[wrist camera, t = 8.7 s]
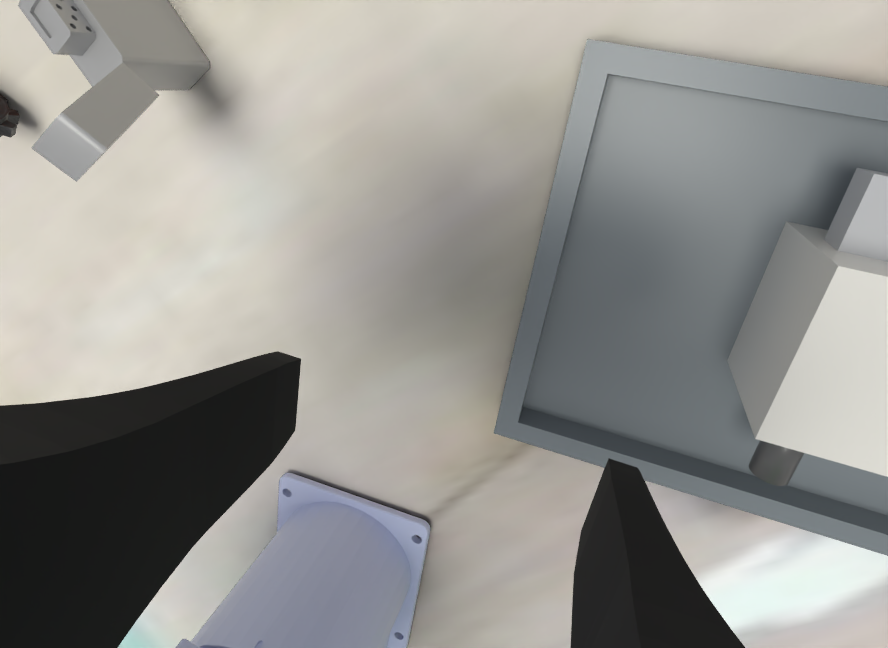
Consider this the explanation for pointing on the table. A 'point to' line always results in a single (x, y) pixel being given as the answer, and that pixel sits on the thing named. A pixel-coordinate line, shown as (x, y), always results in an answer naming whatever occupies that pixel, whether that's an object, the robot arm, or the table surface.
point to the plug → (821, 341)
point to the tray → (684, 273)
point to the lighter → (111, 69)
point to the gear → (7, 118)
